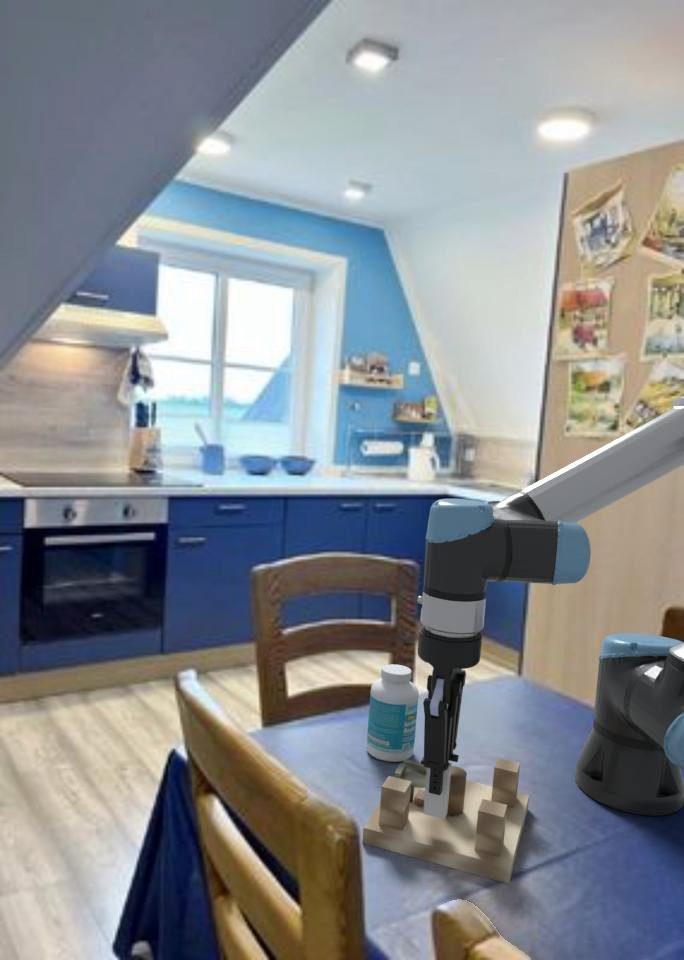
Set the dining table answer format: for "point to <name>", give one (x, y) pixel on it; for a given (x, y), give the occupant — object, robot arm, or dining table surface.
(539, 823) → the dining table surface
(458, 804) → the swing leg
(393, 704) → the pill bottle
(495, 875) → the stool seat
